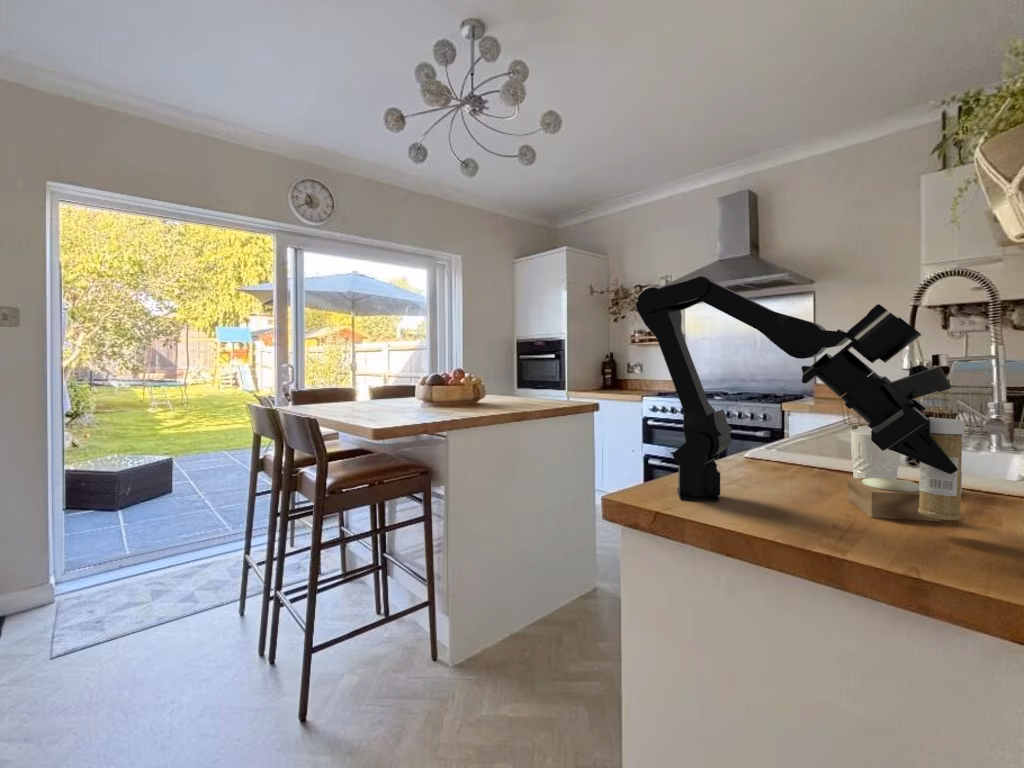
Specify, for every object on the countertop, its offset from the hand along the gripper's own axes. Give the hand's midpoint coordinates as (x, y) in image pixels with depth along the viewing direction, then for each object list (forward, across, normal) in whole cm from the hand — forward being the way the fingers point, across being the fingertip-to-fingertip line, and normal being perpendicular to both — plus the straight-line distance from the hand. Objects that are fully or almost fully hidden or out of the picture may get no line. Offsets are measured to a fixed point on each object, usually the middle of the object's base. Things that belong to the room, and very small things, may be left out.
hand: (953, 468), depth 66 cm
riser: (+2, +10, +12) cm, 15 cm away
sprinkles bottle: (+4, 0, +6) cm, 7 cm away
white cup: (0, +28, +14) cm, 31 cm away
